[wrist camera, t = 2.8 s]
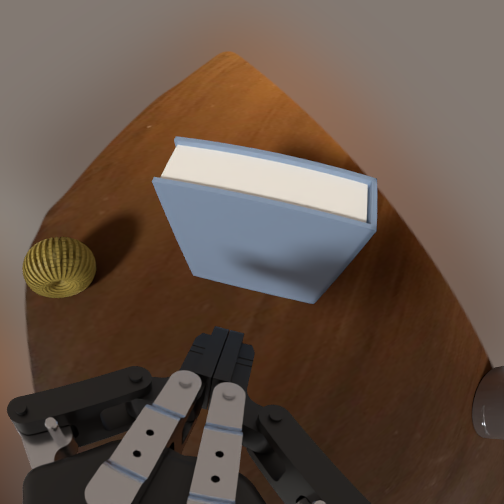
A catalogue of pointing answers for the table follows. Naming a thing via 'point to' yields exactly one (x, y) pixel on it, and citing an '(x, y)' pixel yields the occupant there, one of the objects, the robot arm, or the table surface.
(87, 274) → the sculpture
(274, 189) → the book
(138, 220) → the table surface
